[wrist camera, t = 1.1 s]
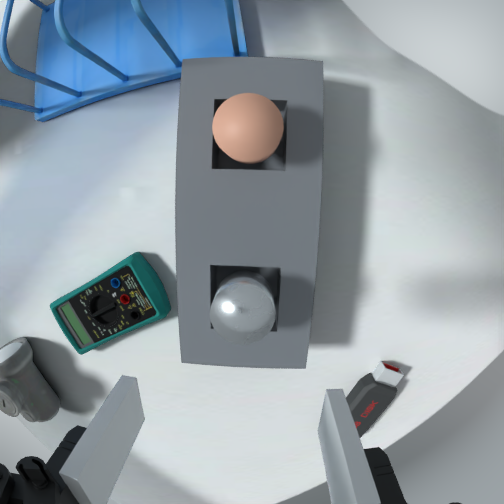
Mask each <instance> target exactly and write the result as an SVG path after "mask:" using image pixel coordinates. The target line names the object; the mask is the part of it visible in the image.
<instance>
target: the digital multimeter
mask: <svg viewBox="0 0 504 504" xmlns="http://www.w3.org/2000/svg"><path fill="white" fill-rule="evenodd" d="M109 275H110V276H109ZM89 301H90V302H89ZM50 308H51V310H52V313H53V315H54V317H55V319H56V320H57V322H58V324H59V326H60V328H61V329H62V331H63V333H64V334H65V336H66V337H67V339H68V340H69V342H70V343H71V344H72V346H73V347H74V348H75V350H76V351H77V352H78V353H79V354H81V355H82V354H84V353H86V352H88V351H90V350H92V349H94V348H96V347H98V346H100V345H101V344H103V343H106V342H108V341H110V340H112V339H114V338H116V337H118V336H120V335H123V334H125V333H127V332H130V331H132V330H135V329H137V328H139V327H142V326H144V325H147V324H149V323H152V322H155V321H157V320H160V319H162V318H165V317H166V316H167V314H168V313H169V311H170V310H171V306H170V303H169V300H168V297H167V294H166V291H165V289H164V286H163V284H162V282H161V280H160V279H159V277H158V275H157V273H156V272H155V271H154V269H153V268H152V267H151V265H150V264H149V263H148V262H147V261H146V260H145V258H144V257H143V256H142V255H141V254H140V253H139V252H135V253H134V254H132V255H130V256H129V257H127V258H126V259H124V260H123V261H121V262H120V263H118V264H116V265H115V266H113V267H112V268H110V269H109V270H107V271H106V272H104V273H103V274H101V275H99V276H98V277H96V278H95V279H93V280H91V281H89V282H88V283H86V284H84V285H83V286H81V287H79V288H77V289H76V290H74V291H72V292H70V293H68V294H66V295H64V296H63V297H61V298H59V299H57V300H56V301H54V302H53V303H51V304H50ZM118 316H119V317H118Z"/></svg>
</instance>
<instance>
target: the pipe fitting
mask: <svg viewBox="0 0 504 504" xmlns="http://www.w3.org/2000/svg"><path fill="white" fill-rule="evenodd" d="M32 359H33V351H32V348H31V346H30V344H29V343H28V341H27V339H26V338H25V337H20V338H17V339H15V340H13V341H11V342H9V343H7V344H6V345H4V346H3V347H1V348H0V410H1V411H2V412H4V413H5V414H7V415H9V416H12V417H16V416H18V415H19V413H21V415H22V416H23V417H24V418H25V419H26V420H28V421H30V422H36V421H37V422H45V421H48V420H50V419H52V418H53V417H54V416H55V415H56V414H57V413H58V411H59V408H60V404H61V403H60V399H59V398H58V396H57V395H56V394H55V392H54V391H53V390H52V388H51V387H50V386H49V384H48V383H47V381H46V380H45V379H44V377H43V376H42V374H41V373H40V372H39V370H38V369H37V367H36V366H35V364H34V363H33V360H32Z"/></svg>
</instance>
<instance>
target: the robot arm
mask: <svg viewBox="0 0 504 504" xmlns="http://www.w3.org/2000/svg"><path fill="white" fill-rule="evenodd" d="M144 420H145V417H144V413H143V408H142V403H141V398H140V393H139V388H138V383H137V378H135V377H129V376H123V375H122V376H121V378H120V379H119V381H118V382H117V384H116V385H115V387H114V388H113V390H112V391H111V393H110V394H109V396H108V397H107V399H106V400H105V402H104V403H103V405H102V406H101V408H100V409H99V411H98V412H97V414H96V415H95V417H94V418H93V420H92V421H91V423H90V424H89V426H88V427H87V428H85V427H81V426H78V425H77V426H76V427H74V428H73V429H71V430H70V431H69V432H68V433H67V434H66V436H65V437H64V439H63V441H62V442H61V443H60V444H59V447H57V449H56V450H55V452H54V453H53V455H52V456H51V458H50V459H49V461H48V462H47V463H46V464H45V463H44V461H43V460H41V459H40V458H38V457H34V456H29V457H25V458H23V459H21V460H20V461H19V462H18V463H17V465H16V469H17V471H18V472H19V474H14V473H10V472H9V470H8V469H7V468H6V467H5V466H4V465H2V464H1V463H0V504H107V502H108V500H109V497H110V495H111V493H112V490H113V488H114V486H115V484H116V481H117V479H118V477H119V475H120V473H121V470H122V468H123V466H124V464H125V461H126V459H127V457H128V455H129V453H130V450H131V448H132V446H133V444H134V442H135V439H136V437H137V435H138V433H139V431H140V429H141V426H142V424H143V422H144ZM318 435H319V440H320V445H321V450H322V455H323V460H324V465H325V471H326V476H327V481H328V486H329V492H330V497H331V503H332V504H407V503H406V501H405V499H404V497H403V494H402V491H401V489H400V486H399V484H398V481H397V478H396V476H395V474H394V471H393V469H392V466H391V463H390V461H389V458H388V456H387V454H385V452H384V451H383V450H382V449H381V448H379V447H377V448H369V449H363V446H362V444H361V441H360V438H359V435H358V432H357V429H356V426H355V423H354V420H353V417H352V415H351V412H350V409H349V406H348V403H347V400H346V398H345V395H344V392H343V389H326V394H325V399H324V404H323V408H322V413H321V418H320V422H319V427H318ZM450 504H461V503H450Z"/></svg>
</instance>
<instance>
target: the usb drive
mask: <svg viewBox="0 0 504 504" xmlns="http://www.w3.org/2000/svg"><path fill="white" fill-rule="evenodd" d="M403 376H404V374H403V372H402V371H401V369H400V368H398V367H395V366H393V365H390V364H387V363H385V362H382V361H380V362H379V364H378V365H377V367H376V368H375V369H374V371H373V372H372V374H371V373H369V374H367V375H366V376H364V377H363V378H361V379H360V380H359V381H358V383H357V384H356V385H355V387H354V388H353V389H352V391H351V392H350V393H349V395H348V396H347V397H346V400H347V403H348V406H349V409H350V412H351V415H352V417H353V420H354V423H355V426H356V429H357V432H358V435H359V438H361V437H362V435H363V434H364V433H365V432H366V431H367V430H368V429H369V428H370V426H371V425H372V424H373V423H374V422H375V421H376V420H377V418H378V417H379V416H380V415H381V414H382V412H383V411H384V410H385V409H386V408H387V406H388V405H389V404H390V403H391V401H392V400H393V399H394V397H395V395H396V393H397V388H396V385H397V384H398V383H399V381H400V380H401V379H402V377H403Z"/></svg>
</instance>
